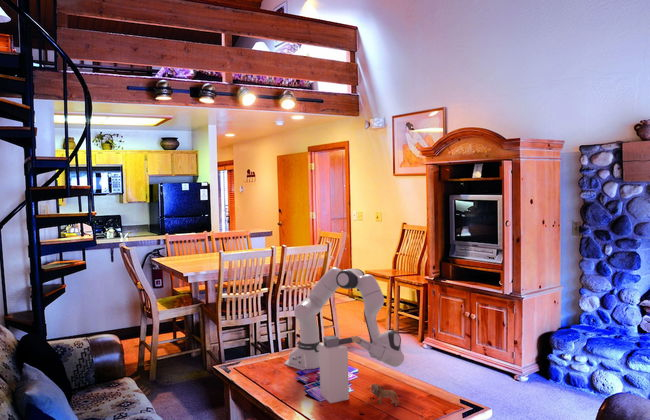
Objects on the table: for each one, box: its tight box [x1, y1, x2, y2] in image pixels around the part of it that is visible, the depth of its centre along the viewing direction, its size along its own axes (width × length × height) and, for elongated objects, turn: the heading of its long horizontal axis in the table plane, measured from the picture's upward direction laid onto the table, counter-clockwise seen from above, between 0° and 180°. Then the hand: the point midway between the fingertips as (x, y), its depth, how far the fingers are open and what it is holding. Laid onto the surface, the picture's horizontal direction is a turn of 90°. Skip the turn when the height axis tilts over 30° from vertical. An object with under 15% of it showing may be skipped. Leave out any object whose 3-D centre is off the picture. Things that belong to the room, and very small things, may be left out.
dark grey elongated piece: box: [323, 334, 361, 348], centre depth 248 cm, size 18×5×4 cm, turn 114°
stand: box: [319, 342, 350, 404], centre depth 247 cm, size 10×12×26 cm
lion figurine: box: [370, 383, 402, 407], centre depth 238 cm, size 15×5×9 cm, turn 74°
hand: (356, 340), depth 251 cm, fingers open, 8 cm apart
